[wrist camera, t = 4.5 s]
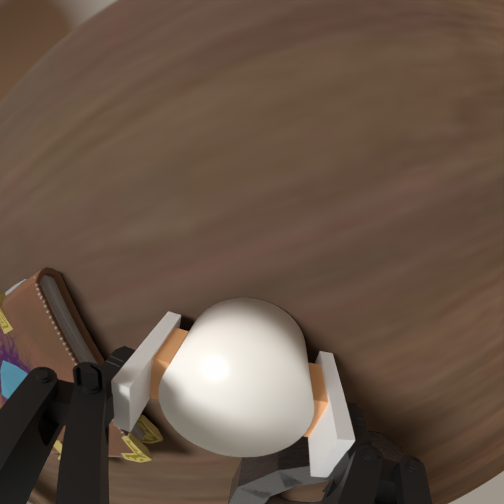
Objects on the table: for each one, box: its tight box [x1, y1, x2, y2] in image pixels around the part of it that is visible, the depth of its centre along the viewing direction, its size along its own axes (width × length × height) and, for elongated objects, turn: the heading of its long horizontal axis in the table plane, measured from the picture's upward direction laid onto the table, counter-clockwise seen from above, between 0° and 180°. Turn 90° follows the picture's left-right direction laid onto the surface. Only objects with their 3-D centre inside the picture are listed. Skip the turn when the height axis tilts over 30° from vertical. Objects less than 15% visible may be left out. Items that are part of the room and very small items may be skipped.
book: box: [0, 267, 163, 462], centre depth 18 cm, size 16×25×5 cm, turn 115°
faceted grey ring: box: [228, 432, 404, 504], centre depth 17 cm, size 14×14×3 cm
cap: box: [150, 298, 328, 457], centre depth 13 cm, size 8×7×5 cm
